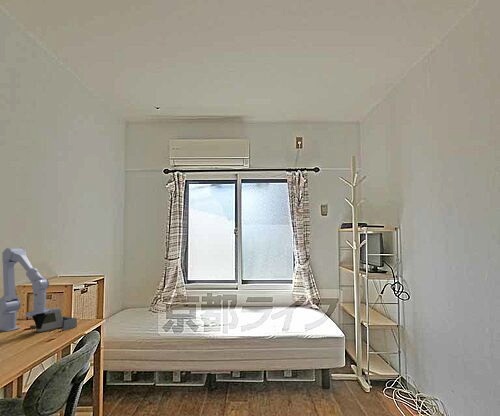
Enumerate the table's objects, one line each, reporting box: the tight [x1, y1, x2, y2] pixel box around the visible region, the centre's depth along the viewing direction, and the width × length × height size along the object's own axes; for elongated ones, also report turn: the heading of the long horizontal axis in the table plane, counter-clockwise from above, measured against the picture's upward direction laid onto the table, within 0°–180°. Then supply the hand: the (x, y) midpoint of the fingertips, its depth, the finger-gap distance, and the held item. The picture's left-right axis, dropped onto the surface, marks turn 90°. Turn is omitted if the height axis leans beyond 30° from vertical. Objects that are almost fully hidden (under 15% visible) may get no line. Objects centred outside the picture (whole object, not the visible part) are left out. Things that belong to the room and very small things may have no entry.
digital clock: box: [35, 307, 63, 333], centre depth 231 cm, size 16×9×11 cm, turn 139°
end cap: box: [61, 316, 78, 331], centre depth 236 cm, size 14×9×5 cm, turn 68°
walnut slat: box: [29, 323, 36, 330], centre depth 238 cm, size 12×3×2 cm, turn 173°
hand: (38, 328), depth 222 cm, fingers closed
